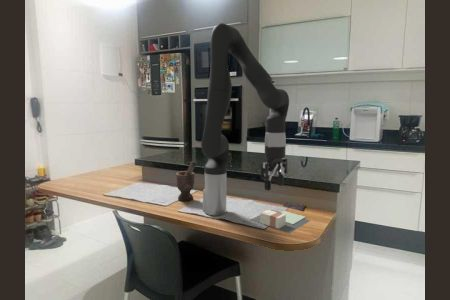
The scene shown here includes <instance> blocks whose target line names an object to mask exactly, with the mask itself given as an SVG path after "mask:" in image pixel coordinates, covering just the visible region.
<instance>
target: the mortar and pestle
mask: <svg viewBox="0 0 450 300" xmlns="http://www.w3.org/2000/svg"><path fill="white" fill-rule="evenodd" d="M196 166H197V160H192V161H190V164H189V165H188V169H187V170H181V171H177V172H176V173H175V178H176V187H177V189H178V191H180V194H178V197H177V200H178V201H181V202H191V201H193V200H194V195H193V194H192V193H191V191H192V190H193V189H194V186H195V171H194V169H195V168H196Z"/></svg>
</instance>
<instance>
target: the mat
mask: <svg viewBox="0 0 450 300" xmlns="http://www.w3.org/2000/svg"><path fill="white" fill-rule="evenodd" d="M270 210H271V211H275V212H279V213H283V214H285V215H286V225H284V226H282V227H281V228H279V229H278V228H274V227H271V226H268V225H265V224H262V223H260V220H261V214H259V215H257V216H255V217H252V218H251V219H249V221H251V222H254V223H256V224H257V223H258V224H260V225H263V226H266V227H269V228H273V229H276V230H279V231H282V232H284V233H288V234H291V233H293V232H294V231H296V230H297V229H300V228H301V227H302V226H304V225H306V224H307V223H309V222H311V220H310V219H306V216H304V215H300V214H296V213H294V212H289V211H285V210H283V211H279V210H275V209H270Z"/></svg>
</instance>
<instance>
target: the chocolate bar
mask: <svg viewBox="0 0 450 300" xmlns="http://www.w3.org/2000/svg"><path fill="white" fill-rule="evenodd" d="M294 203H295V202H287V201H285V203H284V204H283V205H282V207H285V208H288V209H292V210H296V211H299V212H304V210H305V207H306V206H304V205H305V204H303V205H299V204H300V203H295V204H294Z"/></svg>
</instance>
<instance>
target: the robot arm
mask: <svg viewBox="0 0 450 300" xmlns="http://www.w3.org/2000/svg"><path fill="white" fill-rule="evenodd" d="M229 54H231V55H232V56H233V57H234V58H235V59H236V60H237V62H238V64H239V65H240V68H241V70H242V72H243V74H244V76H245V77H246V80H247V81H248V82H249V83H250V84H251V86H252V87H253V88H254V89H255V90H256V92H257V95H258V97H259V99H260V100H261V102H262V104H263V105H264V106H265V107H267V109H270V113H269V115H268V116H267V117H266V119H265V136H264V157H265V158H266V162H263V161H262V162H261V164H260V180H261V179H262V180H264V190H265V191H268V192H269V191H271V190H272V177H273V176H274V175H275V173H276V175H277V182H276V183H277V185H278V186H279V187H282V186H284V179H285V178H284V176H285V175H286V174H288V158H286V146H287V145H286V142H287V141H286V140H287V138H286V119H287V116H288V111H289V107H290V98H289V94H288V92H287V91H286V90H285V89H279V88H277V87H275V85H274V84H273V78H272V77H271V75H270V74H269V73H268V71H267V70H266V69H265V68H264V67H263V65H262V64H261V63H260V61H259V60H257V58H256V57H255V55H254V54H253V53H252V52H251V50H250V48H249V47H248V45H247V43H246V41H245V40H244V38H243V36H242V35H241V33H240V31H239V30H238V29H237V28H236V27H234V26H231V25H230V24H229V25H228V24H226V23H223V22H220V23H218V24H215V26H214V27H213V29H212V31H211V36H210V65H209V67H210V69H209V70H210V71H209V80H208V89H207V102H206V112H205V121H204V127H203V128H204V129H203V133H202V138H201V145H200V146H201V147H200V148H201V152H202V154H203V155H204V156H205V157H206V158H208V159H207V162H206V163H205V165H204V173H203V174H204V189H203V190H202V211H203V212H204V213H205V214H206V215H208V216H222V215H225V214H226V213H227V170H228V169H227V168H228V166H229V155H230V153H229V152H230V146H229V145H230V144H229V141H228V138H227V137H226V136H225V135H224V134H223V133H222V130H223V129H222V127H223V124H224V121H225V118H226V115H227V113H228V111H229V107H230V105H231V99H232V98H231V97H232V90H233V89H232V88H233V87H232V86H233V85H232V79H231V76H230V72H229V68H228V67H229V66H228V59H229V58H228V57H229Z"/></svg>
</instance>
